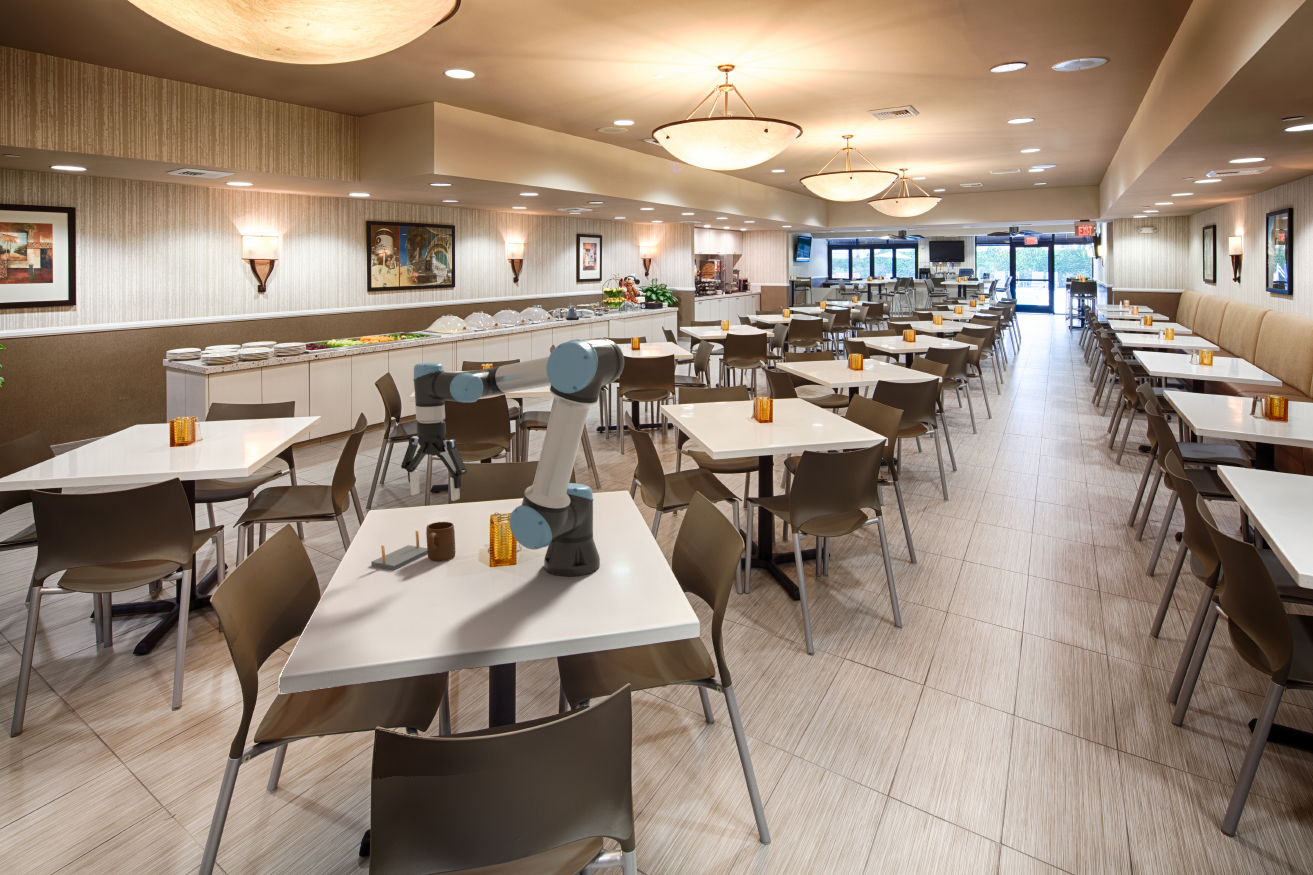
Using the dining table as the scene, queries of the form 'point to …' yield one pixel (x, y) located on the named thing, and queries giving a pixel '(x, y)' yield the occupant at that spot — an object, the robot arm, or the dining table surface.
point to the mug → (440, 541)
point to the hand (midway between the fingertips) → (435, 496)
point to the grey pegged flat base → (400, 556)
